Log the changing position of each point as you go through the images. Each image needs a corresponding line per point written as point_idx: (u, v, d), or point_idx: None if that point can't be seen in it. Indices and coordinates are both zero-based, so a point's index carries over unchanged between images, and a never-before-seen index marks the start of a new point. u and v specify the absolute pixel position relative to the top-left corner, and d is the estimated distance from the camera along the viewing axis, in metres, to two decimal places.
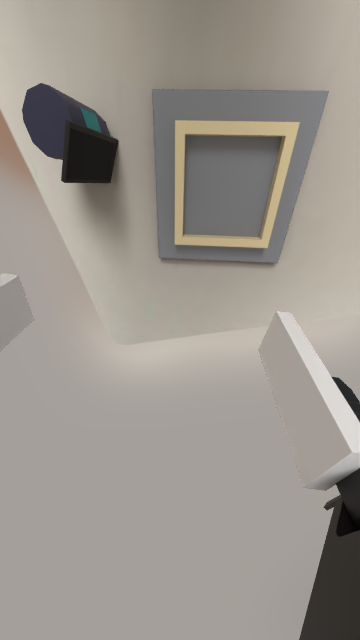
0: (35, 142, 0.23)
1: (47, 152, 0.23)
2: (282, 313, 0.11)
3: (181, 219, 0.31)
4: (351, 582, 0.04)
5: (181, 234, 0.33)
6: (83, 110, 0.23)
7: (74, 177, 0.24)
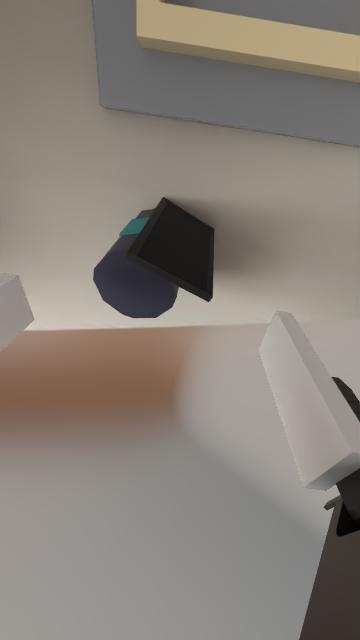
0: (156, 315, 0.16)
1: (168, 304, 0.15)
2: (282, 313, 0.11)
3: (337, 38, 0.11)
4: (351, 582, 0.04)
5: None
6: (123, 232, 0.15)
7: (205, 277, 0.14)
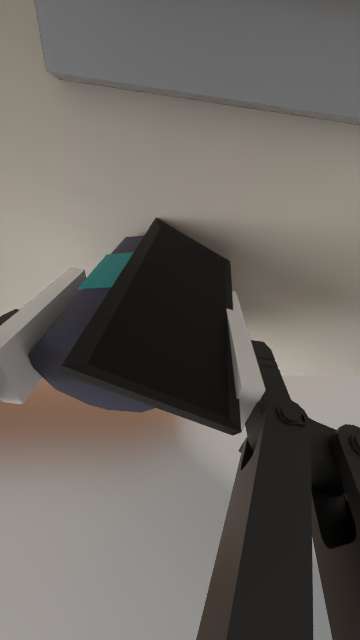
0: (141, 410, 0.10)
1: None
2: None
3: None
4: (241, 502, 0.05)
5: None
6: (85, 283, 0.09)
7: (224, 374, 0.08)
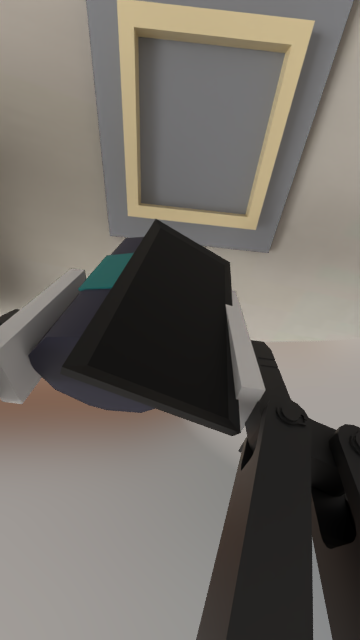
0: (141, 410, 0.10)
1: None
2: None
3: (225, 216, 0.23)
4: (241, 502, 0.05)
5: (244, 218, 0.23)
6: (85, 284, 0.09)
7: (223, 375, 0.08)
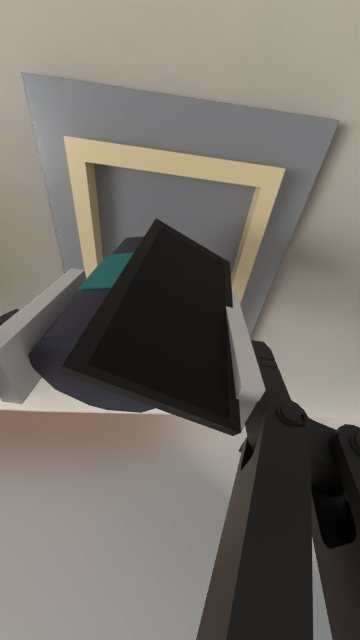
0: (141, 410, 0.10)
1: None
2: None
3: None
4: (241, 502, 0.05)
5: None
6: (85, 283, 0.09)
7: (224, 375, 0.08)
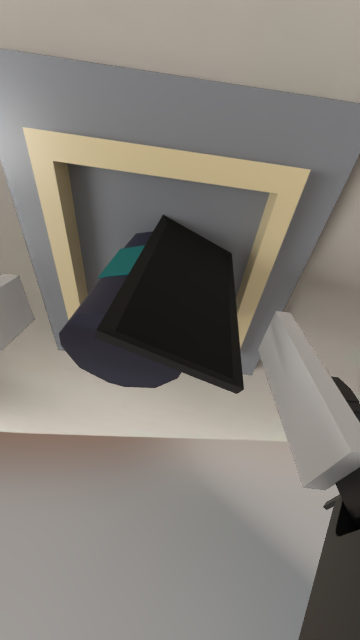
0: (155, 385, 0.11)
1: (171, 375, 0.10)
2: (282, 313, 0.11)
3: None
4: (351, 581, 0.04)
5: None
6: (104, 272, 0.10)
7: (228, 345, 0.09)
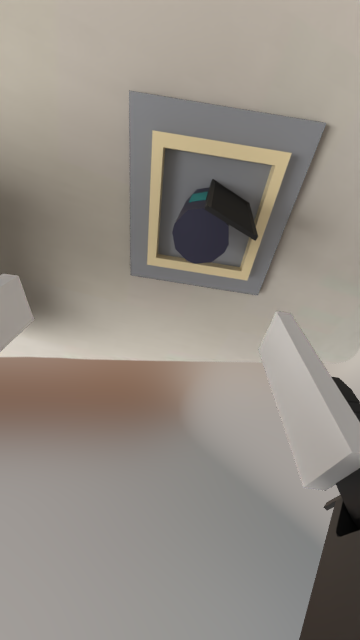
0: (211, 260, 0.22)
1: (221, 250, 0.22)
2: (282, 313, 0.11)
3: (223, 270, 0.30)
4: (351, 582, 0.04)
5: (238, 271, 0.30)
6: (191, 200, 0.21)
7: (251, 227, 0.20)
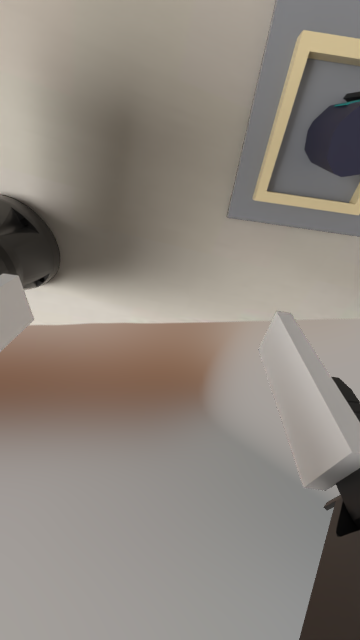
0: None
1: None
2: (282, 313, 0.11)
3: (336, 203, 0.28)
4: (351, 582, 0.04)
5: (352, 205, 0.28)
6: (348, 102, 0.20)
7: None
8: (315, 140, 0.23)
